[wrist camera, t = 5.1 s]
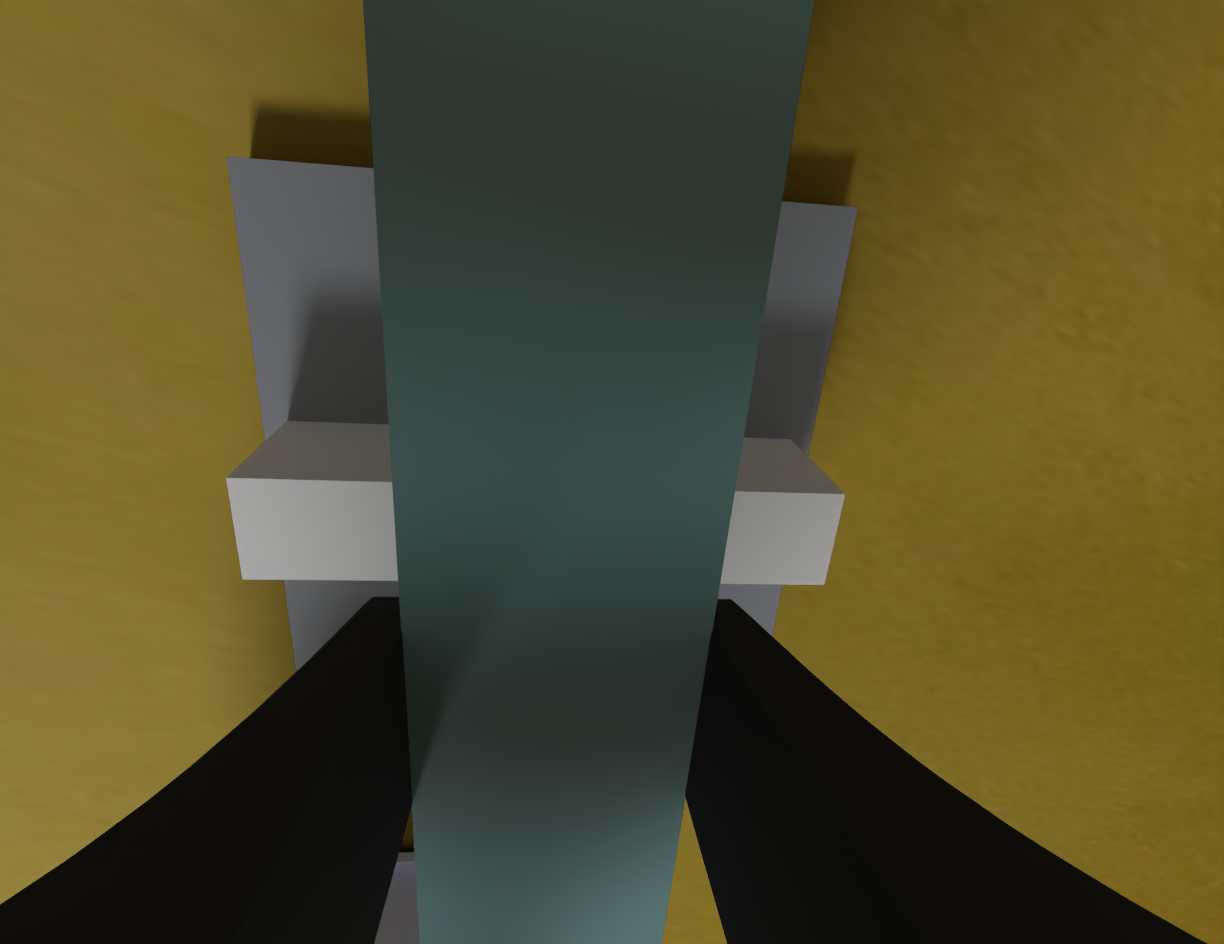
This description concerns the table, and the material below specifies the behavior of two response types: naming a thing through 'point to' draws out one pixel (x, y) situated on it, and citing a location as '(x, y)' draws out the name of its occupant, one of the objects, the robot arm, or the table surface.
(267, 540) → the stand
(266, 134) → the table surface
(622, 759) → the teal bar
